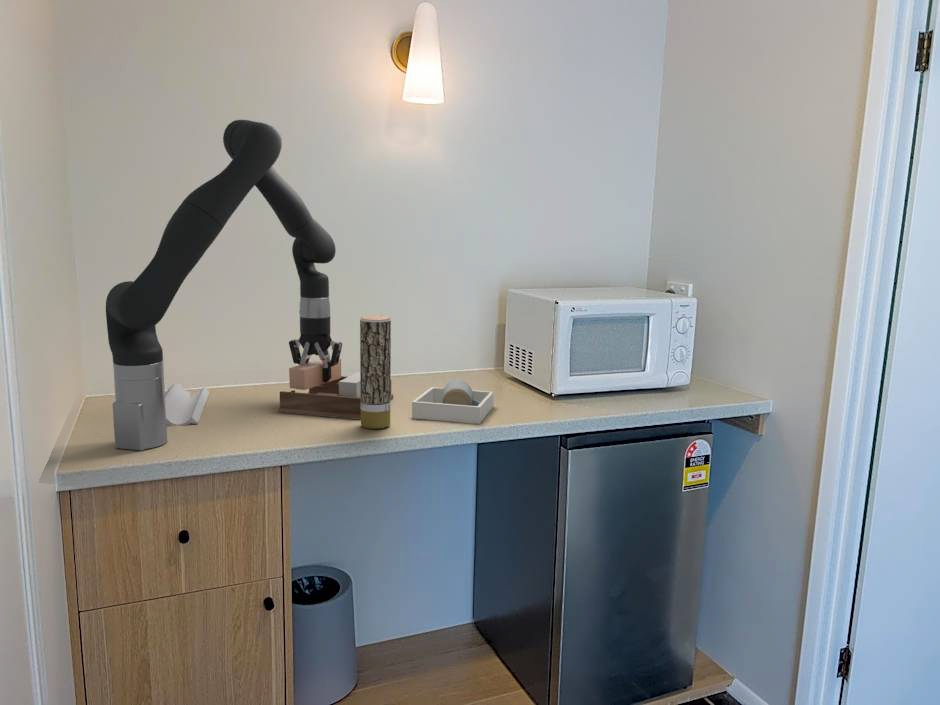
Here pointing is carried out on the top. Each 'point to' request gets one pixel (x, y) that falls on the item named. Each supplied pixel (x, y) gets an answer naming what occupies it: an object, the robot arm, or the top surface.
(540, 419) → the top surface
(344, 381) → the grey bar
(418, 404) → the frame
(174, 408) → the crown molding
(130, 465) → the top surface
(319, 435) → the top surface
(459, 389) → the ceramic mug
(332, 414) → the rack
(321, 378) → the clay bar
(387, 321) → the bark log cylinder
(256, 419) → the top surface
